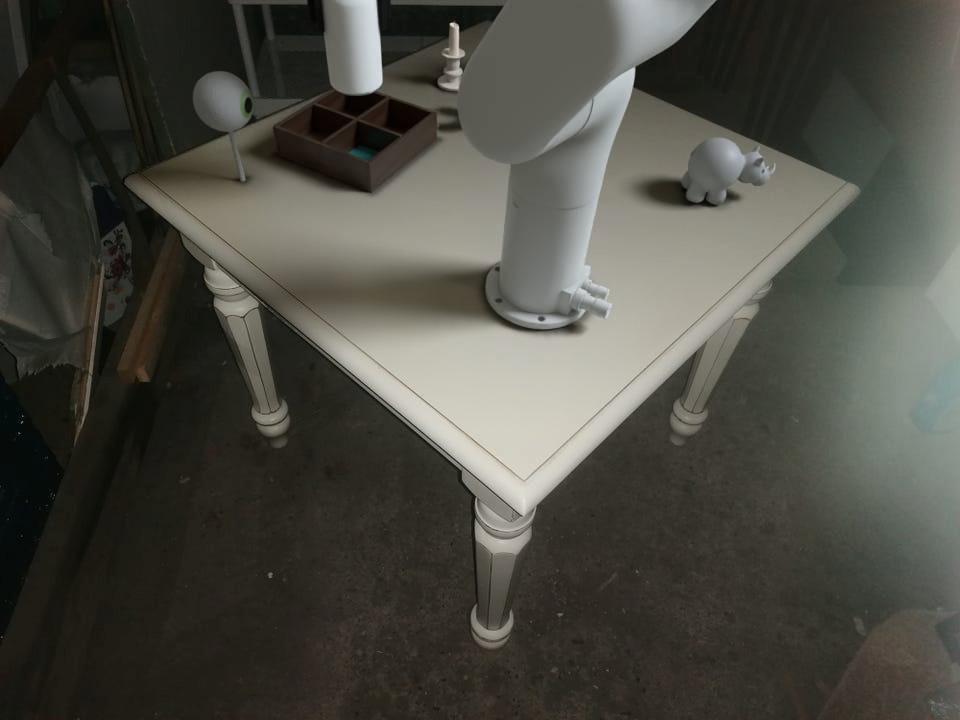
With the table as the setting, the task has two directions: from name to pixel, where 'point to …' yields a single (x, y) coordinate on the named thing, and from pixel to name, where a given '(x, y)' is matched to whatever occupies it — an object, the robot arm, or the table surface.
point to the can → (353, 45)
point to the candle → (452, 61)
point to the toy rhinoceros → (722, 170)
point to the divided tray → (356, 136)
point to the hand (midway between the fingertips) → (351, 25)
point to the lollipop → (224, 106)
